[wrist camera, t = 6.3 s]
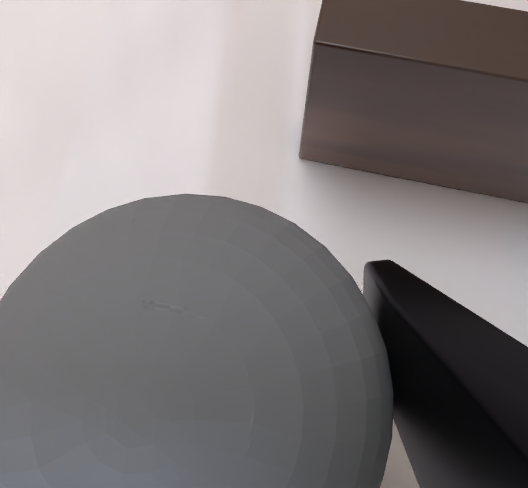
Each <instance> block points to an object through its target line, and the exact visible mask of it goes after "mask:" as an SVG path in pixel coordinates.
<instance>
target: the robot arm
mask: <svg viewBox="0 0 528 488" xmlns="http://www.w3.org/2000/svg"><path fill="white" fill-rule="evenodd" d="M363 296H364V298H365V299H366V301H367V303H368V304H369V306H370V308H371V309H372V311H373V314H374V317H375V319H376V322H377V325H378V328H379V330H380V333H381V336H382V339H383V341H384V344H385V347H386V350H387V355H388V362H389V368H390V374H391V380H392V386H393V419H394V421H395V424H396V427H397V429H398V432H399V434H400V437H401V440H402V442H403V445H404V448H405V450H406V453H407V455H408V458H409V461H410V463H411V466H412V468H413V471H414V474H415V476H416V479H417V482H418V484H419V487H420V488H528V347H527V346H525V345H524V344H522V343H520V342H519V341H517V340H516V339H514V338H513V337H511V336H509V335H508V334H506V333H505V332H503V331H502V330H500V329H498V328H497V327H495V326H494V325H492V324H491V323H489V322H487V321H486V320H484V319H483V318H481V317H480V316H478V315H476V314H475V313H473V312H472V311H470V310H469V309H467V308H465V307H464V306H462V305H461V304H459V303H458V302H456V301H454V300H453V299H451V298H450V297H448V296H447V295H445V294H443V293H442V292H440V291H439V290H437V289H436V288H434V287H432V286H431V285H429V284H428V283H426V282H425V281H423V280H421V279H420V278H418V277H417V276H415V275H414V274H412V273H410V272H409V271H407V270H406V269H404V268H403V267H401V266H399V265H398V264H396V263H395V262H393V261H391V260H380V261H371V262H367V263H366V264H365V266H364V286H363Z"/></svg>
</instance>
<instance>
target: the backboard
mask: <svg viewBox="0 0 528 488" xmlns="http://www.w3.org/2000/svg"><path fill="white" fill-rule="evenodd" d="M299 158H302V159H307V160H312V161H317V162H322V163H327V164H333V165H338V166H343V167H348V168H353V169H358V170H363V171H368V172H374V173H379V174H384V175H389V176H394V177H399V178H404V179H409V180H415V181H420V182H425V183H430V184H435V185H440V186H445V187H450V188H455V189H461V190H466V191H471V192H476V193H481V194H486V195H491V196H496V197H502V198H507V199H512V200H517V201H522V202H527V203H528V12H527V11H521V10H515V9H509V8H503V7H497V6H491V5H485V4H480V3H474V2H468V1H462V0H322V5H321V9H320V14H319V18H318V23H317V27H316V32H315V36H314V41H313V48H312V56H311V64H310V72H309V80H308V88H307V96H306V104H305V112H304V120H303V128H302V136H301V144H300V152H299Z"/></svg>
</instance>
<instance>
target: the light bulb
mask: <svg viewBox="0 0 528 488" xmlns="http://www.w3.org/2000/svg"><path fill="white" fill-rule="evenodd" d="M392 427H393V386H392V380H391V374H390V368H389V362H388V355H387V350H386V347H385V344H384V341H383V339H382V336H381V333H380V330H379V328H378V325H377V322H376V319H375V317H374V314H373V311H372V309H371V308H370V306H369V304H368V303H367V301H366V299H365V298H364V296H363V294H362V293H361V291H360V289H359V288H358V286H357V284H356V283H355V281H354V279H353V278H352V276H351V275H350V274H349V273H348V272H347V270H346V269H345V268H344V267H343V266H342V265H341V264H340V263H339V261H338V260H337V259H336V258H335V257H334V256H333V255H332V254H331V253H330V251H329V250H328V249H327V248H326V247H325V246H324V245H322V244H321V243H320V242H318V241H317V240H316V239H314V238H313V237H312V236H311V235H309V234H308V233H307V232H305V231H304V230H303V229H301V228H300V227H299V226H297V225H296V224H295V223H293V222H291V221H289V220H287V219H285V218H283V217H281V216H279V215H276V214H274V213H272V212H270V211H268V210H266V209H264V208H262V207H260V206H256V205H253V204H249V203H245V202H242V201H238V200H234V199H231V198H227V197H221V196H208V195H195V194H180V195H171V196H162V197H153V198H144V199H141V200H138V201H134V202H131V203H128V204H124V205H121V206H118V207H115V208H111V209H108V210H106V211H104V212H102V213H100V214H98V215H96V216H94V217H92V218H90V219H88V220H87V221H85V222H83V223H81V224H79V225H77V226H75V227H73V228H72V229H70V230H69V231H68V232H66V233H65V234H64V235H63V236H61V237H60V238H59V239H57V240H56V241H55V242H53V243H52V244H51V245H50V246H48V247H47V248H46V249H44V250H43V251H42V252H41V253H40V254H39V255H38V256H37V257H36V258H35V259H34V260H33V261H32V262H31V263H30V264H29V265H28V267H27V268H26V269H25V270H24V271H23V272H22V273H21V274H20V275H19V276H18V278H17V279H16V280H15V281H14V282H13V283H12V284H11V285H10V286H9V288H8V290H7V291H6V293H5V294H4V296H3V298H2V299H1V301H0V488H379V487H380V485H381V482H382V480H383V476H384V471H385V467H386V462H387V458H388V453H389V449H390V444H391V440H392Z"/></svg>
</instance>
